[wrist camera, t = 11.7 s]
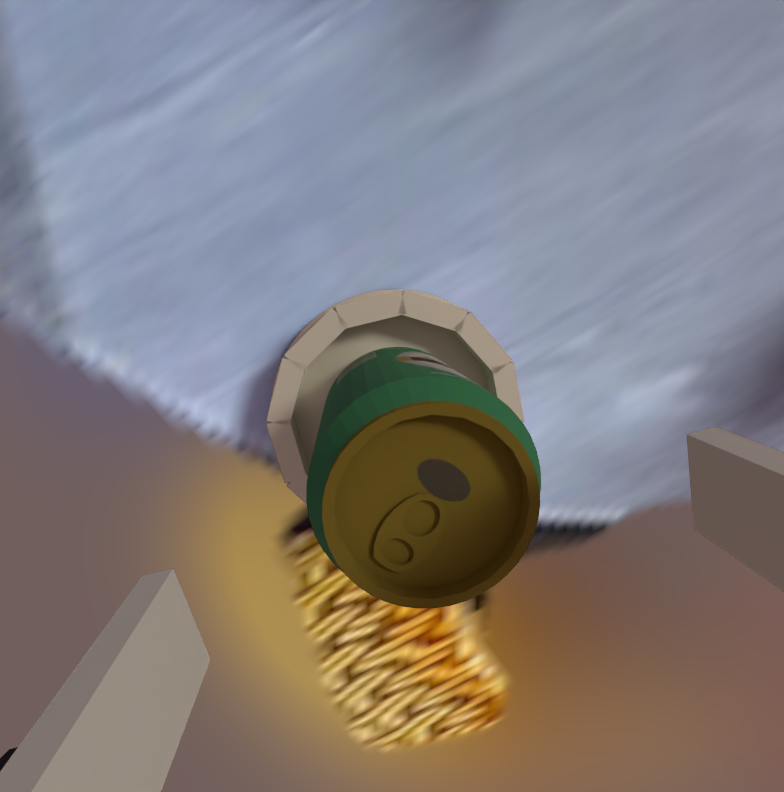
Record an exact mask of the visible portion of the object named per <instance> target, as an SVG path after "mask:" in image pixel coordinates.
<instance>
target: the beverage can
mask: <svg viewBox="0 0 784 792" xmlns="http://www.w3.org/2000/svg"><path fill="white" fill-rule="evenodd" d="M540 490H541V473H540V465H539V460H538V455H537V451H536V448H535V446H534V443H533V441H532V438H531V436H530V434H529V432H528V431H527V429H526V427H525V426H524V424H523V422H522V421H521V420H520V419H519V417H518V416H517V415H516V414H515V413H514V412H513V410H512V409H511V408H510V407H509V406H508V405H506V404H505V403H504V402H503V401H501V400H500V399H499V398H498V397H497V396H495V395H494V394H492V393H490V392H489V391H487V390H486V389H484V388H483V387H481V386H480V385H478V384H477V383H475V382H473V381H472V380H470V379H469V378H467V377H466V376H464V375H463V374H461V373H460V372H458V371H456V370H455V369H453V368H452V367H450V366H449V365H447V364H446V363H444V362H442V361H441V360H439V359H438V358H436V357H434V356H432V355H431V354H429V353H426V352H424V351H421V350H418V349H413V348H408V347H389V348H382V349H378V350H375V351H371V352H369V353H367V354H365V355H363V356H361V357H359V358H358V359H356V360H355V361H353V362H352V363H350V364H349V365H348V366H347V367H346V368H345V369H344V370H343V371H342V372H341V373H340V375H339V376H338V377H337V378H336V380H335V381H334V383H333V385H332V387H331V388H330V390H329V393H328V396H327V398H326V401H325V405H324V409H323V413H322V418H321V422H320V426H319V430H318V434H317V438H316V442H315V446H314V450H313V454H312V458H311V463H310V467H309V473H308V478H307V488H306V502H307V508H308V515H309V519H310V522H311V525H312V528H313V531H314V534H315V536H316V538H317V540H318V542H319V544H320V545H321V547H322V549H323V551H324V552H325V553H326V554H327V556H328V557H329V558H330V559H331V561H332V562H333V563H334V564H335V565H336V566H337V567H338V568H339V569H340V570H341V571H342V572H344V573H345V574H346V576H347V577H349V578H350V579H351V580H352V581H353V582H354V583H355V584H356V585H357V586H358V587H360V588H361V589H363V590H364V591H366V592H367V593H369V594H370V595H372V596H374V597H377V598H379V599H381V600H383V601H385V602H388V603H392V604H395V605H399V606H404V607H411V608H438V607H444V606H451V605H454V604H457V603H460V602H464V601H467V600H469V599H471V598H473V597H476V596H478V595H480V594H482V593H483V592H485V591H487V590H488V589H490V588H491V587H493V586H494V585H496V584H497V583H498V582H499V581H500V580H502V579H503V578H504V577H505V576H506V575H507V574H508V573H509V572H510V571H511V570H512V569H513V568H514V567H515V565H516V564H517V563H518V562H519V560H520V559H521V557H522V556H523V554H524V553H525V551H526V550H527V548H528V546H529V544H530V541H531V539H532V537H533V535H534V532H535V528H536V525H537V522H538V516H539V508H540Z"/></svg>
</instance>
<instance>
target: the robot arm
mask: <svg viewBox="0 0 784 792" xmlns="http://www.w3.org/2000/svg"><path fill="white" fill-rule="evenodd" d="M687 445H688V458H689V472H690V485H691V498H692V510H693V524H694V530H695V531H697V532H698V533H700V534H701V535H702V536H704V537H705V538H707V539H708V540H710V541H711V542H713V543H714V544H716V545H717V546H718V547H720V548H721V549H723V550H724V551H726V552H727V553H729V554H730V555H731V556H733V557H734V558H736V559H737V560H739V561H740V562H742V563H743V564H745V565H746V566H747V567H749V568H750V569H752V570H753V571H755V572H756V573H758V574H759V575H760V576H762V577H763V578H765V579H766V580H768V581H769V582H771V583H772V584H773V585H775V586H776V587H778V588H779V589H781V590H782V591H784V452H782V451H779V450H776V449H774V448H771V447H768V446H766V445H763V444H760V443H758V442H755V441H752V440H749V439H747V438H744V437H741V436H739V435H736V434H733V433H731V432H728V431H725V430H722V429H720V428H717V427H713V428H709V429H705V430H701V431H697V432H694V433H690V434H687ZM209 662H210V657H209V655H208V653H207V650H206V648H205V646H204V643H203V640H202V638H201V635H200V633H199V630H198V628H197V626H196V623H195V620H194V618H193V615H192V613H191V611H190V608H189V606H188V603H187V601H186V598H185V596H184V593H183V591H182V588H181V586H180V583H179V581H178V579H177V576H176V574H175V571H174V569H173V568H172V569H168V570H164V571H160V572H156V573H152V574H148V575H145V576H142V577H141V578H140V580H139V581H138V583H137V584H136V585H135V586H134V588H133V589H132V591H131V592H130V593H129V595H128V596H127V598H126V599H125V600H124V602H123V603H122V604H121V606H120V607H119V609H118V610H117V611H116V613H115V614H114V615H113V617H112V618H111V620H110V621H109V622H108V624H107V625H106V627H105V628H104V629H103V631H102V632H101V633H100V635H99V636H98V638H97V639H96V640H95V642H94V643H93V645H92V646H91V647H90V649H89V650H88V651H87V653H86V654H85V655H84V657H83V658H82V660H81V661H80V662H79V664H78V665H77V666H76V668H75V669H74V671H73V672H72V673H71V675H70V676H69V678H68V679H67V680H66V682H65V683H64V684H63V686H62V687H61V689H60V690H59V691H58V693H57V694H56V695H55V697H54V698H53V700H52V701H51V703H50V704H49V705H48V706H47V708H46V709H45V711H44V712H43V713H42V715H41V716H40V718H39V719H38V720H37V722H36V723H35V725H34V726H33V727H32V729H31V730H30V731H29V733H28V734H27V735H26V737H25V738H24V740H23V741H22V742H21V744H20V745H19V747H17V748H13V749H10V750H8V751H7V752H6V753H5V754H4V755H3V756H2V757H1V758H0V792H161V789H162V787H163V784H164V782H165V779H166V776H167V773H168V771H169V768H170V766H171V763H172V760H173V758H174V755H175V752H176V749H177V747H178V744H179V742H180V739H181V736H182V734H183V731H184V728H185V726H186V723H187V720H188V718H189V715H190V712H191V710H192V707H193V704H194V702H195V699H196V696H197V694H198V691H199V688H200V686H201V683H202V680H203V678H204V675H205V672H206V670H207V667H208V664H209Z"/></svg>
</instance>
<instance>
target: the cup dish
mask: <svg viewBox="0 0 784 792" xmlns="http://www.w3.org/2000/svg"><path fill="white" fill-rule="evenodd" d="M467 311H468V310H466V309H463V308H460V307H459V306H457V305H455V304H453V303H451V302H450V301H448V300H445V299H442V298H440V297H437V296H435V295H432V294H428V293H423V292H419V291H413V290H403V289H391V290H379V291H373V292H367V293H363V294H360V295H357V296H354V297H351V298H348V299H346V300H344V301H342V302H340V303H337V304H335V305H333V306H332V307H330V308H329V309H327V310H326V311H324V312H323V313H321V314H320V315H318V316H317V317H316V318H315V319H314V320H313V321H311V322H310V323H309V324H308V325H307V326H306V327H305V328H304V329H303V330H302V331H301V332H300V334H299V335H298V336H297V337H296V338H295V340H294V341H293V343H292V344H291V346H290V347H289V349H288V350H287V352H286V353H285V355H284V357H283V358H282V361H281V364H280V366H279V368H278V371H277V374H276V377H275V380H274V384H273V389H272V395H271V404H270V408H269V412H268V416H267V420H266V421H268V423H267V428H268V431H269V434H270V437H271V440H272V444H273V447H274V450H275V453H276V456H277V460H278V463H279V466H280V469H281V473H282V476H283V479H284V482H285V483H288V484H287V487H288V488H290V490H292V491H293V492H294V493H295V494H296V495H297V496H298V497H299V498H301V499H302V500H303V501H304V502H305V503H306V504H307V502H306V488H307V478H308V473H309V467H310V463H311V458H312V454H313V450H314V446H315V442H316V438H317V434H318V430H319V426H320V422H321V418H322V413H323V409H324V405H325V401H326V398H327V396H328V393H329V390H330V388H331V387H332V385H333V383H334V381H335V380H336V378H337V377H338V376H339V375H340V373H341V372H342V371H343V370H344V369H345V368H346V367H347V366H348V365H349V364H350V363H352V362H353V361H355V360H356V359H358V358H359V357H361V356H363V355H365V354H367V353H369V352H371V351H375V350H378V349H382V348H389V347H408V348H413V349H418V350H421V351H424V352H426V353H429V354H431V355H432V356H434V357H436V358H438V359H439V360H441V361H442V362H444V363H446V364H447V365H449V366H450V367H452V368H453V369H455V370H456V371H458V372H460V373H461V374H463V375H464V376H466V377H467V378H469V379H470V380H472V381H473V382H475V383H477V384H478V385H480V386H481V387H483V388H484V389H486V390H487V391H489V392H490V393H492V394H494V395H495V396H497V397H498V398H499V399H500V400H501V401H503V402H504V403H505V404H506V405H508V406H509V407H510V408H511V409H512V410H513V412H514V413H515V414H516V415H517V416H518V417H519V419H520V420H521V421H522V422H524V418H523V412H522V407H521V401H520V395H519V390H518V384H517V378H516V373H515V367H514V362H512V361H511V360H512V358H511V357H510V356H509V355H508V354H507V353H506V352H505V350H504V349H503V348H502V347H501V346H500V345H499V344H498V342H497V341H496V340H495V339H494V338H493V337H492V336H491V334H490V333H489V332H488V330H487V329H486V328H485V327H484V326H483V325H482V324H481V323H480V322H479V321H478V320H477V318H476V317H475V316H474V315H473V314H472V313H471V312H467Z"/></svg>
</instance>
